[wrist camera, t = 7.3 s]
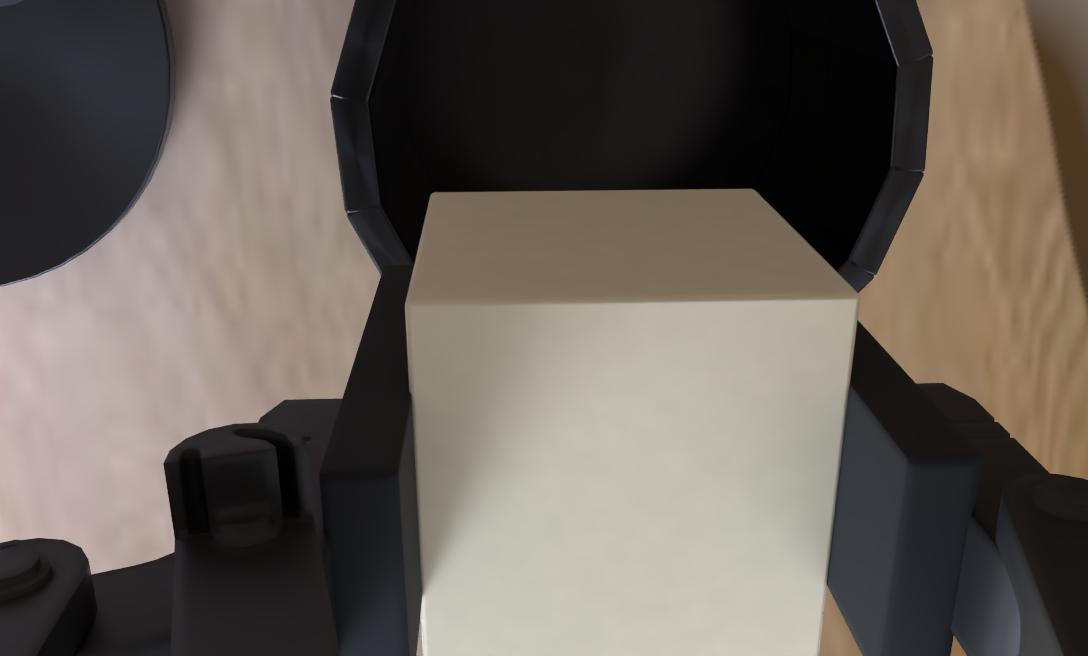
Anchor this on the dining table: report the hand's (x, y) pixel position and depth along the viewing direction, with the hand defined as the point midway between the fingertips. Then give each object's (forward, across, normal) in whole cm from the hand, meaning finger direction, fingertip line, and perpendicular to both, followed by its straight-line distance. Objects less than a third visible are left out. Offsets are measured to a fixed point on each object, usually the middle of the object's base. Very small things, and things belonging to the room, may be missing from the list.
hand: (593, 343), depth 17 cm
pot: (+15, +1, +2) cm, 15 cm away
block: (0, 0, 0) cm, 0 cm away
